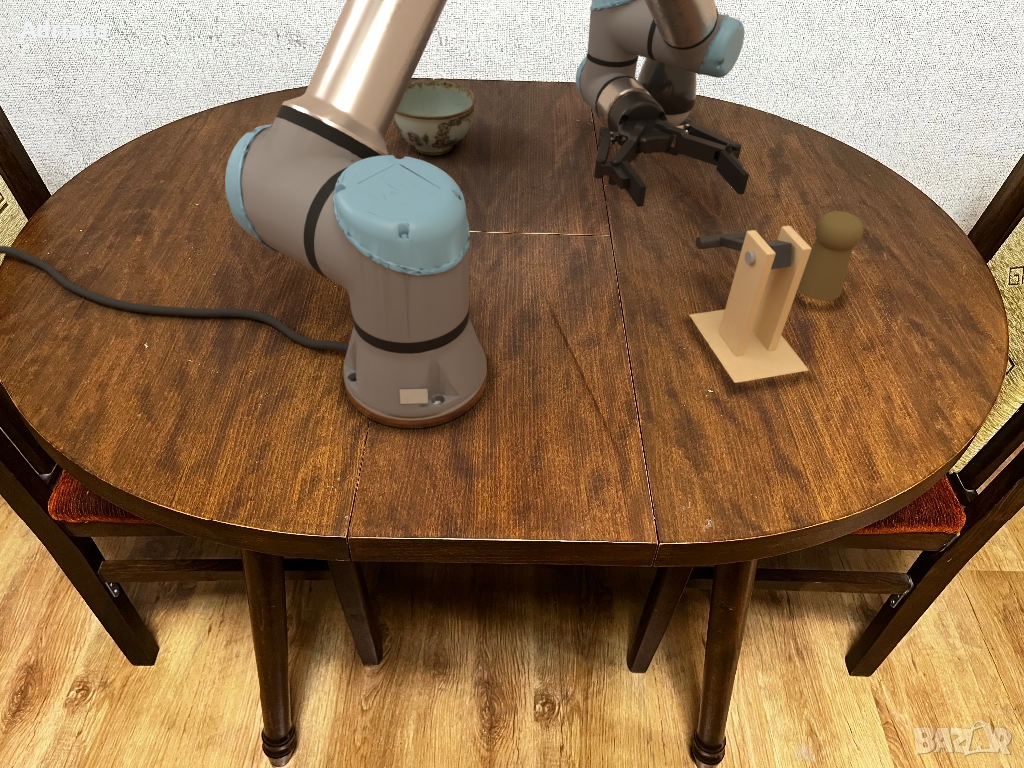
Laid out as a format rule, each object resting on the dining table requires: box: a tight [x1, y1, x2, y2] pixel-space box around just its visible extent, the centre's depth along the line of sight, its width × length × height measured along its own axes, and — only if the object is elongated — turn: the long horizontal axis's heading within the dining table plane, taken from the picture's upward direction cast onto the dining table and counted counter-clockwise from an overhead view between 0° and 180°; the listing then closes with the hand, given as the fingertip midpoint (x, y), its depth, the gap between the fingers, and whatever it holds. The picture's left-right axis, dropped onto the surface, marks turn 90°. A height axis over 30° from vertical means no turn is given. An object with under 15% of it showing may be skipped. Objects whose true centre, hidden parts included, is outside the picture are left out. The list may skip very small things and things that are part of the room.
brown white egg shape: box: [636, 58, 697, 126], centre depth 125 cm, size 10×10×15 cm
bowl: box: [391, 79, 477, 156], centre depth 119 cm, size 14×13×8 cm
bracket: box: [688, 225, 812, 384], centre depth 83 cm, size 12×9×15 cm
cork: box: [797, 210, 864, 301], centre depth 92 cm, size 6×6×11 cm
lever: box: [695, 230, 792, 269], centre depth 84 cm, size 13×6×2 cm, turn 15°
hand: (693, 190), depth 94 cm, fingers open, 13 cm apart
